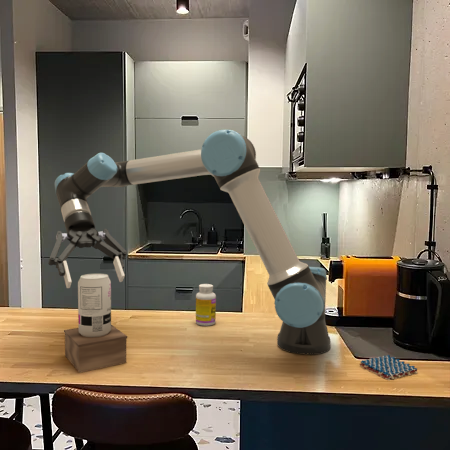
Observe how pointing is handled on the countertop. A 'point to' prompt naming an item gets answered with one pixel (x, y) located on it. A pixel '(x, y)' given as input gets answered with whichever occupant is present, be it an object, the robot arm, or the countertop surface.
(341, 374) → the countertop surface
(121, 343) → the walnut tea box
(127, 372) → the countertop surface
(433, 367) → the countertop surface
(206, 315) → the supplement bottle
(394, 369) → the woven mat
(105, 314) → the supplement can
